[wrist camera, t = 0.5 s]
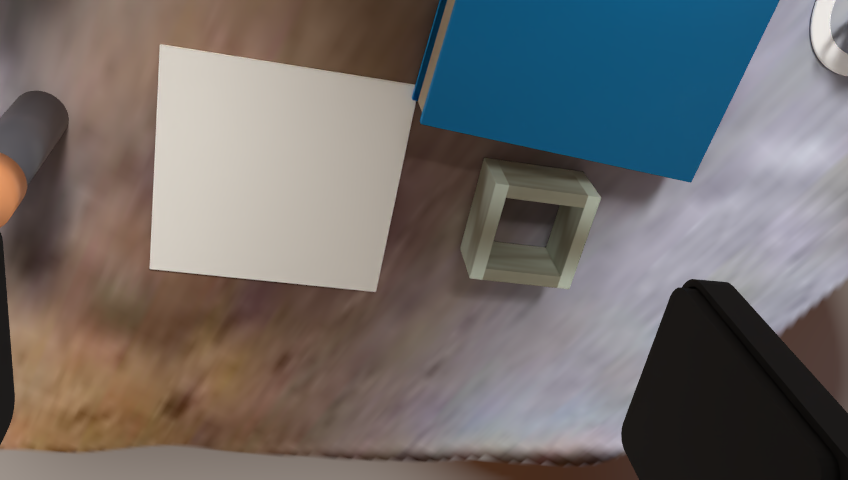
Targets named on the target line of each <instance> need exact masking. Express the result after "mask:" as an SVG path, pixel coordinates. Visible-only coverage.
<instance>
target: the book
mask: <svg viewBox="0 0 848 480" xmlns="http://www.w3.org/2000/svg"><path fill="white" fill-rule="evenodd" d="M778 2H779V0H439V4H438V7H437V11H436V14H435V18H434V21H433V25H432V28H431V32H430V35H429V39H428V42H427V46H426V49H425V53H424V56H423V60H422V63H421V67H420V70H419V74H418V77H417V81H416V84H415V88H414V91H413V95H412V100H414V101H418V103H419V106H420V108H421V111H422V115H421V118H420V123H421V124H423V125H427V126H432V127H436V128H441V129H446V130H450V131H455V132H460V133H464V134H469V135H473V136H478V137H483V138H487V139H492V140H497V141H501V142H506V143H511V144H515V145H520V146H524V147H529V148H534V149H538V150H543V151H548V152H552V153H557V154H561V155H566V156H571V157H575V158H580V159H585V160H589V161H594V162H598V163H603V164H608V165H612V166H617V167H622V168H626V169H631V170H635V171H640V172H645V173H649V174H654V175H659V176H663V177H668V178H673V179H677V180H682V181H686V182H692V180H693V178H694V175H695V173H696V171H697V169H698V167H699V165H700V163H701V161H702V159H703V157H704V155H705V153H706V151H707V149H708V147H709V145H710V143H711V140H712V138H713V136H714V134H715V132H716V130H717V128H718V126H719V124H720V122H721V120H722V118H723V116H724V114H725V112H726V110H727V107H728V105H729V103H730V101H731V99H732V97H733V95H734V93H735V91H736V89H737V87H738V85H739V83H740V81H741V79H742V77H743V75H744V72H745V70H746V68H747V66H748V64H749V62H750V60H751V58H752V56H753V54H754V52H755V50H756V48H757V46H758V44H759V42H760V40H761V37H762V35H763V33H764V31H765V29H766V27H767V25H768V23H769V21H770V19H771V17H772V15H773V13H774V11H775V9H776V7H777V5H778Z"/></svg>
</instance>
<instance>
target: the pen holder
mask: <svg viewBox="0 0 848 480" xmlns="http://www.w3.org/2000/svg"><path fill="white" fill-rule="evenodd" d="M506 198H511V199H519V200H526V201H534V202H542V203H549V204H557V205H560V206H559V209H558V212H557V215H556V218H555V221H554V224H553V228H552V231H551V234H550V237H549V240H548V243H547V246H546V248H544V247H536V246H528V245H519V244H511V243H502V242H494V237H495V234H496V230H497V227H498V223H499V220H500V216H501V213H502V209H503V206H504V202H505V199H506ZM600 200H601V197H600V195H599V194H598V192H597V191H596V189H595V188H594V187H593V185H592V184H591V182H590V181H589V179H588V178H587V176H586V175H585V174H584V172H582V171H575V170H568V169H561V168H553V167H546V166H539V165H532V164H525V163H518V162H511V161H504V160H497V159H490V158H484V160H483V163H482V167H481V171H480V175H479V179H478V182H477V186H476V190H475V194H474V198H473V201H472V205H471V209H470V213H469V217H468V220H467V224H466V228H465V232H464V236H463V239H462V243H461V247H460V250H461V253H462V256H463V259H464V262H465V265H466V269H467V272H468V275H469V278H470V279H479V280H489V281H498V282H507V283H516V284H526V285H535V286H544V287H554V288H563V289H569V288H570V285H571V283H572V280H573V277H574V274H575V271H576V268H577V265H578V263H579V260H580V257H581V254H582V251H583V248H584V245H585V243H586V240H587V237H588V234H589V231H590V228H591V225H592V223H593V220H594V217H595V214H596V211H597V208H598V205H599V202H600Z"/></svg>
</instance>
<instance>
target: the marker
mask: <svg viewBox="0 0 848 480" xmlns="http://www.w3.org/2000/svg"><path fill="white" fill-rule="evenodd" d="M68 120H69V119H68V113H67V110H66V108H65V106H64V105H63V104H62V103H61V101H60V100H58V99H57V98H56V97H54V96H53V95H51V94H49V93H46V92H42V91H30V92H26V93H24V94H22V95H21V96H20V97H18V99H17V100H16V101H15V102H14V103H13V104H12V105H11V106H10V107H9V109H8V110H7V111H6V112H5V113H4V114H3V115H2V116H1V118H0V227H2V226H3V225H4V224H6V223H7V222H8V220H9V219H10V218H11V216H12V215H13V213H14V212H15V210H16V209H17V207H18V206H19V204H20V203H21V201H22V200H23V198H24V196H25V194H26V191H27V186H28V185H29V183H30V182H31V180H32V179H33V177H34V176H35V174H36V173H37V171H38V170H39V168H40V167H41V165H42V164H43V162H44V161H45V160H46V158H47V157H48V155H49V154H50V152H51V151H52V149H53V148H54V146H55V145H56V143H57V142H58V140H59V139H60V137H61V136H62V134H63V133H64V132H65V130H66V128H67V126H68Z"/></svg>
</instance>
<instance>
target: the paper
mask: <svg viewBox="0 0 848 480" xmlns="http://www.w3.org/2000/svg"><path fill="white" fill-rule="evenodd" d="M414 88H415V84H409V83H402V82H396V81H390V80H384V79H377V78H371V77H365V76H358V75H352V74H346V73H340V72H333V71H327V70H321V69H314V68H308V67H302V66H295V65H289V64H283V63H277V62H270V61H264V60H258V59H251V58H245V57H239V56H233V55H226V54H220V53H214V52H207V51H201V50H195V49H188V48H182V47H176V46H170V45H163V44H160V53H159V75H158V97H157V119H156V141H155V163H154V185H153V207H152V229H151V251H150V269H154V270H164V271H174V272H184V273H194V274H203V275H213V276H223V277H233V278H243V279H253V280H263V281H272V282H282V283H292V284H302V285H312V286H322V287H331V288H341V289H351V290H361V291H371V292H376V289H377V285H378V280H379V275H380V270H381V266H382V261H383V256H384V251H385V247H386V242H387V237H388V232H389V228H390V223H391V218H392V213H393V208H394V204H395V199H396V194H397V189H398V185H399V180H400V175H401V170H402V166H403V161H404V156H405V151H406V147H407V142H408V137H409V132H410V128H411V123H412V118H413V113H414V109H415V104H416V101H414V100H412V95H413V91H414Z"/></svg>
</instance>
